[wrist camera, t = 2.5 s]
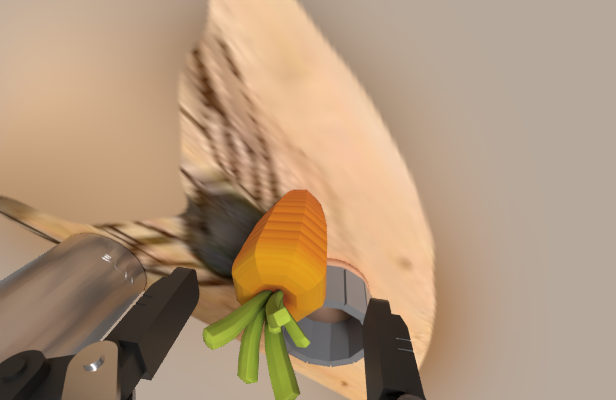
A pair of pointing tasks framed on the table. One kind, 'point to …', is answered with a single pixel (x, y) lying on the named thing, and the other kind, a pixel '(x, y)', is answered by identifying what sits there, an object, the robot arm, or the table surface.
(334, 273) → the cup
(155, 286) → the robot arm
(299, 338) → the carrot
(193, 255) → the table surface
